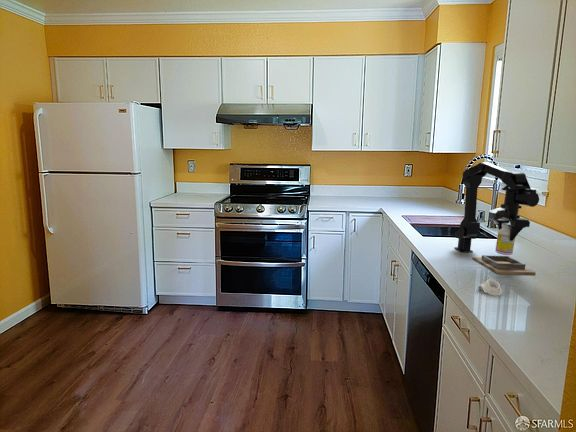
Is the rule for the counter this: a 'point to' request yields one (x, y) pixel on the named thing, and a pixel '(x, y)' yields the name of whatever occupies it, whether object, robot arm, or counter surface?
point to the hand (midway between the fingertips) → (506, 238)
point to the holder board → (503, 265)
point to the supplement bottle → (504, 241)
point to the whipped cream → (491, 287)
